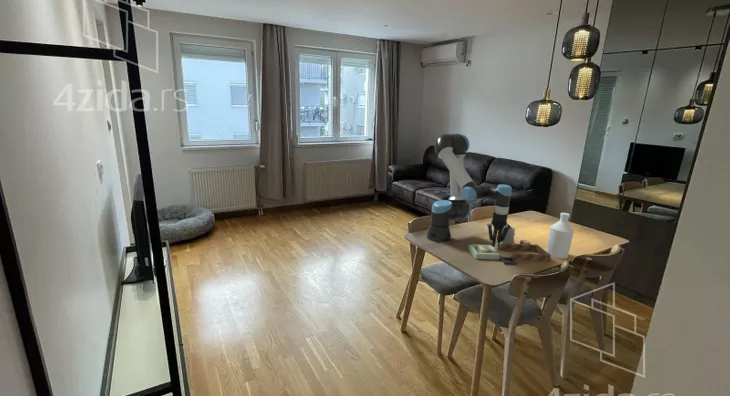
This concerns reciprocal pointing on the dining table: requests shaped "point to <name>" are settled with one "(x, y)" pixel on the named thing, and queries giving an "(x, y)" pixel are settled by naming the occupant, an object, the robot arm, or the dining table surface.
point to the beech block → (486, 249)
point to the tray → (507, 260)
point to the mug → (509, 236)
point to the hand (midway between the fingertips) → (494, 251)
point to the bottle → (560, 238)
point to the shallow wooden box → (541, 252)
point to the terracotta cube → (524, 242)
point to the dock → (477, 255)
